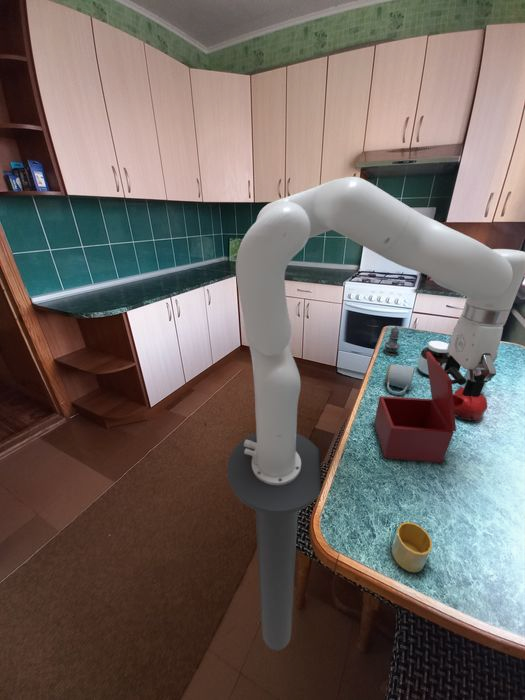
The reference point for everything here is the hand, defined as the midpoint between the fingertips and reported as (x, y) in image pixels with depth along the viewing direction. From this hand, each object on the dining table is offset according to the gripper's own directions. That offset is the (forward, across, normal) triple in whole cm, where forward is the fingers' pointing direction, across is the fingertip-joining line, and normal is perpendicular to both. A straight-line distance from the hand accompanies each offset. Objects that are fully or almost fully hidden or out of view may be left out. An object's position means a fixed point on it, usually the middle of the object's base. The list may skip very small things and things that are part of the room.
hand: (460, 383), depth 67 cm
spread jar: (+20, -38, +12) cm, 44 cm away
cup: (+19, +29, -16) cm, 38 cm away
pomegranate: (+20, -14, +12) cm, 27 cm away
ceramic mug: (+20, -26, -3) cm, 32 cm away
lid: (+2, 0, -4) cm, 5 cm away
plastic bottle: (+20, -26, +19) cm, 38 cm away
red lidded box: (+19, 0, -8) cm, 21 cm away
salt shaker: (+20, -52, 0) cm, 55 cm away
